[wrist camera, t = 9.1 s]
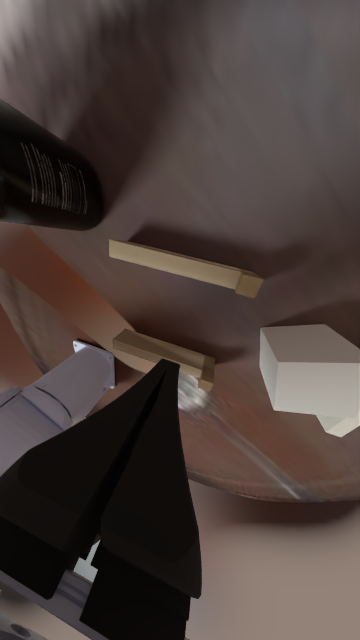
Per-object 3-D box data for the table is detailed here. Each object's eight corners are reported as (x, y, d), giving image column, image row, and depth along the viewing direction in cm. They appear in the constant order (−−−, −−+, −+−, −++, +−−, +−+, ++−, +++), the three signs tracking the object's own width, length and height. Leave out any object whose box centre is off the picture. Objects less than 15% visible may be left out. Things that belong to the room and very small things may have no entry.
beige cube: (314, 367, 17) (355, 419, 12) (259, 366, 19) (273, 410, 14) (324, 323, 15) (380, 363, 10) (260, 326, 17) (278, 362, 12)
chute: (211, 365, 21) (209, 391, 17) (125, 336, 23) (106, 354, 19) (252, 271, 14) (263, 279, 11) (126, 241, 16) (97, 238, 12)
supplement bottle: (63, 127, 13) (-540, -339, 3) (116, 194, 14) (-154, 51, 4) (42, 195, 16) (-274, 100, 6) (87, 245, 18) (-106, 240, 7)
